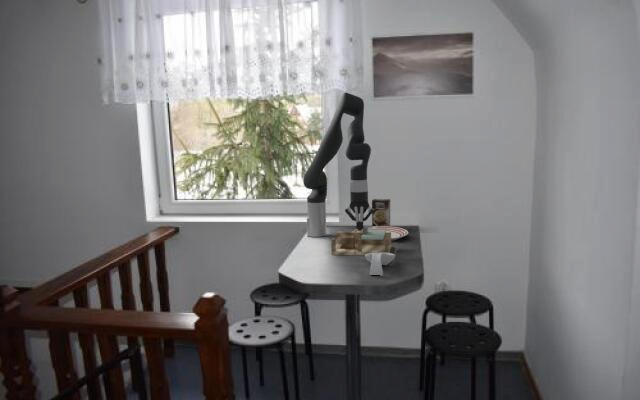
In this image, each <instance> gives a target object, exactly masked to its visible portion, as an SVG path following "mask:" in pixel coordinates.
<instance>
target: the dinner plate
mask: <svg viewBox="0 0 640 400" xmlns="http://www.w3.org/2000/svg"><path fill="white" fill-rule="evenodd" d="M368 230H386V232H391V242H392V241H396V240H399V239H401V238H404V237H406V236H408V234H409V231H408V230H407V229H406V228H405V229H404V228H401V227H398V226H391V225H390V226H374V227H372V226H368ZM352 232H363V229H362V230H361V231H358V229H357V228H356V229H354V230H353V231H352Z"/></svg>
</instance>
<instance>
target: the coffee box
mask: <svg viewBox="0 0 640 400" xmlns="http://www.w3.org/2000/svg"><path fill="white" fill-rule="evenodd" d="M371 208H373V209H374V211H373V212H372V214H371V227H374V226H390V227H391V199H390V198H387V199H386V198H384V199H383V198H374V199H371Z"/></svg>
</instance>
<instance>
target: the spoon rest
mask: <svg viewBox="0 0 640 400" xmlns="http://www.w3.org/2000/svg"><path fill="white" fill-rule="evenodd" d="M395 257H396V254H394V253H392V252H390V253H368V254H365V255H364V258H365V259H366V260H367V262H368V263H370V270H369V276H370V275H380V276H379V277H382V276H384V271H383V266H382V265H385V266H387V265H388V264H390V263H392V261H393V260H394V258H395Z"/></svg>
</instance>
